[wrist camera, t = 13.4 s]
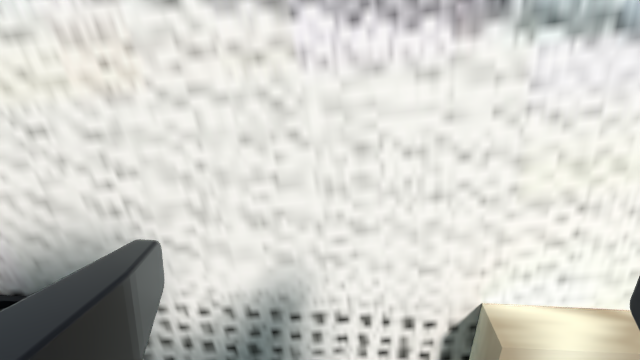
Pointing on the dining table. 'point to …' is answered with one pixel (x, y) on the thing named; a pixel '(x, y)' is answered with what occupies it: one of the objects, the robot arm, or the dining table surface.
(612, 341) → the wood pedestal
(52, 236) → the dining table surface
